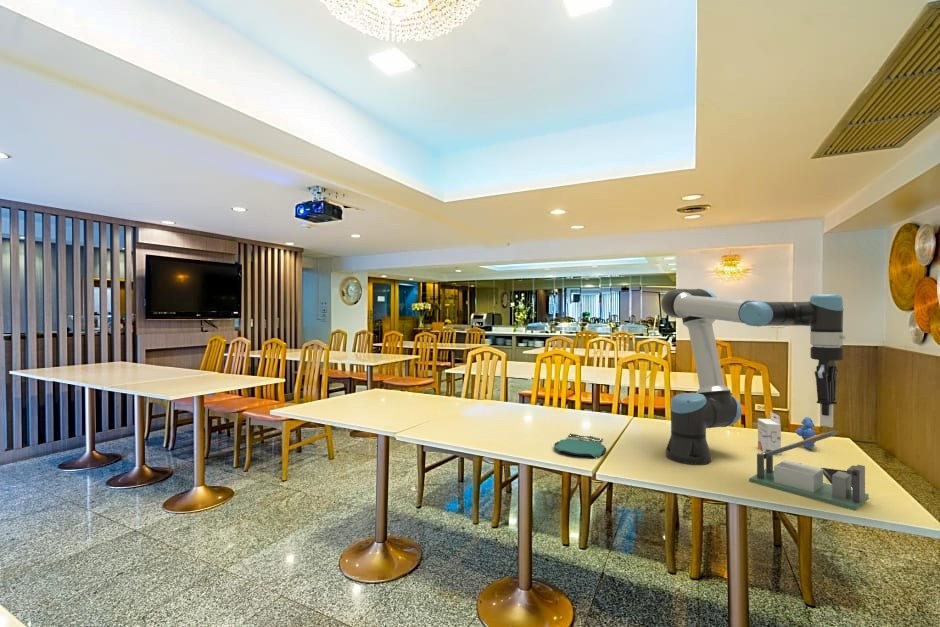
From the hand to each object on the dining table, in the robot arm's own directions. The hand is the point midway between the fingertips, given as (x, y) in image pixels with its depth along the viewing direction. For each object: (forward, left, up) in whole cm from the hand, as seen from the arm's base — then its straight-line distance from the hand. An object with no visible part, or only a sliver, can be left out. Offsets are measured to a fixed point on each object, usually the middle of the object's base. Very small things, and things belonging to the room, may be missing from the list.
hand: (826, 425), depth 129 cm
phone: (-1, +19, -21) cm, 28 cm away
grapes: (-19, +50, -21) cm, 57 cm away
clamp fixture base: (-5, 0, -20) cm, 21 cm away
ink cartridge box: (-26, +33, -21) cm, 47 cm away
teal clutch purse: (-74, -20, -21) cm, 79 cm away
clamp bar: (-7, 0, -8) cm, 11 cm away
